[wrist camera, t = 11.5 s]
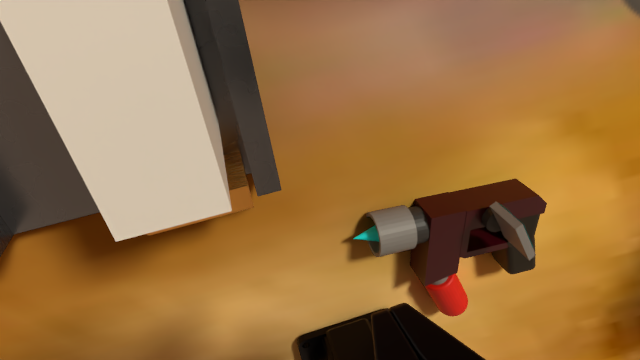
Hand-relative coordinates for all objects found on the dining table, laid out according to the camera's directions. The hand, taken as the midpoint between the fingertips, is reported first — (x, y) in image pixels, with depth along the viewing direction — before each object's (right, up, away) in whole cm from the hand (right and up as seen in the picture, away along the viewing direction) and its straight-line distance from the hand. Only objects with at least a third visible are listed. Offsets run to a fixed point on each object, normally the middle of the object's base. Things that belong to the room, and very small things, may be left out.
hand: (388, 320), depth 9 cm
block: (-8, +9, +5) cm, 13 cm away
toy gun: (+6, -1, +17) cm, 18 cm away
